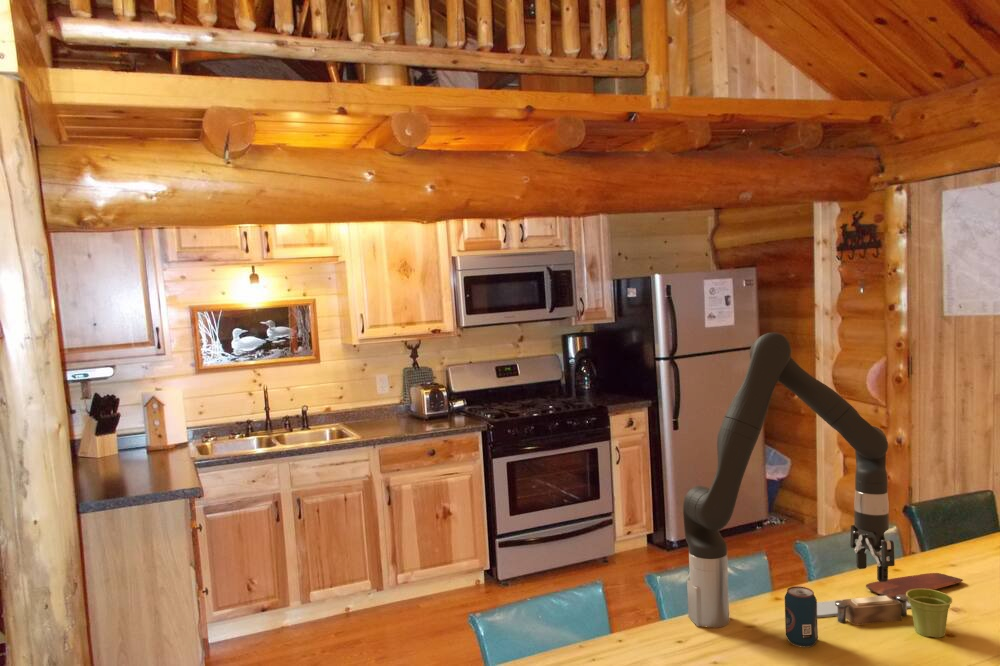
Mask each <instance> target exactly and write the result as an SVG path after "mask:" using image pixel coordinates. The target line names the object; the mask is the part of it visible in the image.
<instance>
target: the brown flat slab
mask: <svg viewBox="0 0 1000 666" xmlns="http://www.w3.org/2000/svg"><path fill="white" fill-rule="evenodd" d="M963 581H964V579H962V578H959V577H956V576H952V575H948V574H945V573H938V572H927V573H921V574H915V575H906V576H899V577H894V578H888V580H887V581H886V582H880V581H878V580H877V581H873V582H869V583H867V584H865V588H866V589H867V590H869V591H871V592H872V593H875V594H879V596H890V597H891V598H896V595H898V594H902V595H906V592H907V591H909V590H912V589H931V590H937V589H938V590H939V589H942V588H945V587H948V586H952V585H955V584H958V583H961V582H963Z"/></svg>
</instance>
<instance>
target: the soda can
mask: <svg viewBox="0 0 1000 666" xmlns="http://www.w3.org/2000/svg"><path fill="white" fill-rule="evenodd" d="M817 600H818V599H817V598H816V596H815V592H814V590H812V589H811V588H808V587H805V586H798V585H797V586H791V587H788V588H787V589H786V593H785V595H784V621H785V624H784V625H785V628H784V629H785V637H786V638H787V640H788V641H789V643H790V644H791V643H792V645H793V644H794V645H793V646H795V645H796V647H799V646H801V647H800V648H810V647H813V646H815V644H816V643H817V642H818V638H819V636H818V634H819V632H818V629H819V628H818V618H817V602H818V601H817Z"/></svg>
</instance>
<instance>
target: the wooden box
mask: <svg viewBox="0 0 1000 666" xmlns="http://www.w3.org/2000/svg"><path fill="white" fill-rule="evenodd" d="M842 600H843V601H845V602H847V603H848V607H846V620H848V621H849V622H850V623H851V624H853V625H854V626H856V625H857V626H858V625H869V624H870V623H871V624H880V623H889V622H890V623H891V622H901V621H902V620H903V619H902V616H901V604H900V603H899V602H897V601H896V600H894V599H893V598H891V597H890V596H882V595H876V596H875V597H874V596H866V597H855V598H846V599H845V600H844V599H842ZM871 624H870V625H871Z"/></svg>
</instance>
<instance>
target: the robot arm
mask: <svg viewBox="0 0 1000 666" xmlns="http://www.w3.org/2000/svg"><path fill="white" fill-rule="evenodd" d="M791 356H792V347H791V344H790V341H789V340H788V339H787V337H785V336H784V334H781V333H779V332H767V333H764V334H763V335H760V336H759V337H757V339H756V340H755V341H754V342H753V344H752V345H751V347H750V349H749V359H750V361H749V365H748V368H747V370H746V374H745V377H744V379H743V381H742V383H741V386H740V387H739V389H738V390H737V392H736V394H735V396H733V399H732V401H731V403H730V404H729V406H728V409H727V410H726V412H725V414H724V417H723V420H722V421H721V424H720V427H719V430H718V433H717V438H716V451H717V454H716V455H717V466H716V473H715V476H714V478H713V480H712V483H711V486H710V487H707V486H701V485H699V486H698V485H697V486H694V487H691V488H690V489H689V490H688V491H687V492H686V494H685V495H684V499H683V504H682V513H683V514H682V515H683V516H682V517H683V528H684V537H685V541H686V543H687V545H688V561H689V562H688V565H689V579H687V581H686V587H687V588H686V589H687V590H686V591H687V615H688V618H689V619H690V620H691V621H692V622H693V623H694V625H695V624H696V625H697V626H696V625H695V626H696V627H704V626H707V627H706V628H710V627H716V628H722V627H724V626H728V624H729V622H730V604H729V602H730V601H729V597H730V596H729V569H728V565H729V564H728V545H727V542H726V540H725V538H723V536H722V534H721V533H720V531H721V530H722V529H724V528H725V527H726V526H727V525H728V523H729V522H730V521H731V518H732V517H733V513H734V509H735V507H736V503H737V499H738V497H739V496H738V495H739V491H740V488H741V483H742V481H743V478H744V476H745V473H746V470H747V467H748V464H749V461H750V458H751V456H752V453H753V450H754V449H755V446H756V444H757V442H758V441H759V440H758V438H759V437H760V434H761V431H762V429H763V426H764V422H765V421H766V418H767V417H766V416H767V414H768V410H769V406H770V403H771V399H772V396H773V392H774V390H775V388H776V385H777V384H778V383H779V384H781V385H782V386H784V387H785V388H787V389H788V390H790V392H792V393H793V394H794V395H795V396H796V397H798V398H799V399H800V400H801V401H802V402H803V403H805V405H807V406H808V407H809V408H810V409H811V410H812V411H813V412H814V413H815V414H817V416H818V417H820V418H821V420H823V421H824V422H826V423H827V425H829V426H830V428H833V430H835V431H836V432H838V433H839V434H840V436H841V437H842V438H843V439H844V440H845V441H846V442H847V443H848V444H849V445H850V446H851V447H852V449H854V450H855V451H854V452H855V463H856V464H855V465H856V466H855V467H856V468H855V475H854V477H855V478H854V479H855V480H854V481H855V482H854V483H855V487H854V488H855V489H854V499H853V501H854V503H853V505H854V507H853V511H854V513H853V515H854V516H853V517H854V520H853V521H854V524H852V525H850V539H849V540H850V542H849V545H850V548H851V549H854V550H853V551H854V552H855V554H856V555H855V556H856V560H855V561H856V563H855V564H856V568H857V569H859V570H864V569H867V551H869V552H870V553H871V554H870V555H871V556H872V557H873V558H874V559H875V561H876V563H877V565H876V567H877V569H876V570H877V571H876V573H877V575H876V577H877V578H876V579H877V581H880V582H886V581H887V580H888V579H889V567H894V566H895V565H896V564H895V542H894V541H893V540H887V539H886V537H885V532H887V531H889V528H890V519H889V518H890V515H889V514H890V513H889V512H890V509H889V508H890V502H889V494H888V473H887V469H886V462H887V461H886V460H887V459H886V458H887V457H886V456H887V452H888V449H889V443H888V439H887V436H886V433H885V432H884V431H883V430H882V429H881V428H879V427H878V426H877V427H876V426H874V425H872V424H870V423H869V422H868V421H867V420H866V419H864V418H863V417H862V416H861V415H860V413H859V412H858V411H857V409H856V408H854V406H853V405H852V404H850V403H849V402H848V401H847V400H846V399H845V398H844V397H842V396H841V395H840V394H839V393H837V392H836V391H835V390H834V389H832V388H831V387H829V386H828V385H826V384H825V383H823V382H821V381H820V380H818V378H817V379H816V378H815V377H813V376H812V375H811V374H810V373H808V372H807V371H806V370H804V369H803V368H802V367H801V366H800V365H799V364H798V363H797V362H796V361H795V360H794V359H793V358H792V357H791ZM888 557H889V558H888Z"/></svg>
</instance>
